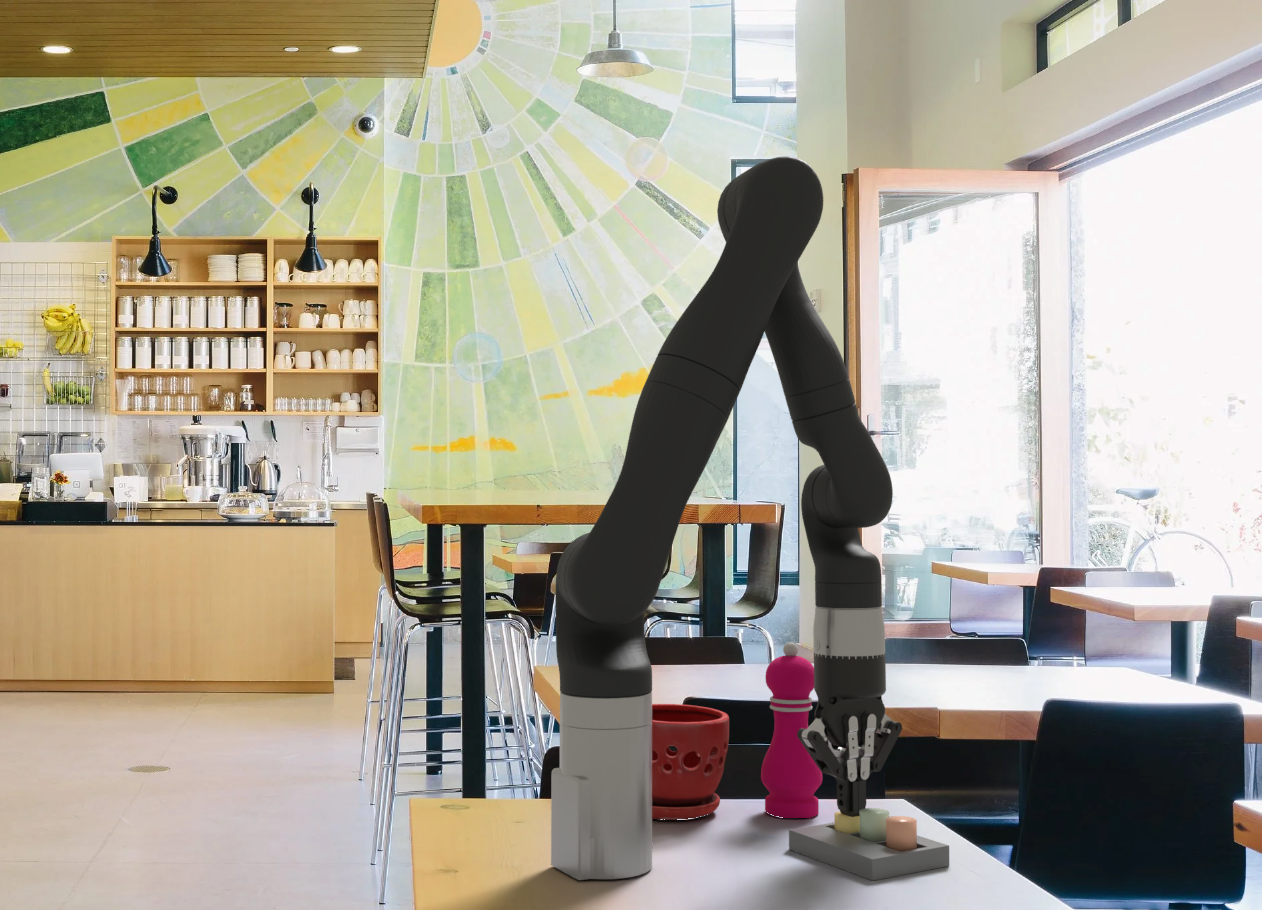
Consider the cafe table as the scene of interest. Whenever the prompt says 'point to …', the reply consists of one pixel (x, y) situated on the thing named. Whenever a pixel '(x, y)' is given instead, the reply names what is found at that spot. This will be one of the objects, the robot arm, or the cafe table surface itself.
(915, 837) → the terracotta button
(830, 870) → the cafe table surface
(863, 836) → the sage button
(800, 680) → the pepper mill
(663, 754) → the plant pot
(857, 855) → the panel
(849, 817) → the ochre button
